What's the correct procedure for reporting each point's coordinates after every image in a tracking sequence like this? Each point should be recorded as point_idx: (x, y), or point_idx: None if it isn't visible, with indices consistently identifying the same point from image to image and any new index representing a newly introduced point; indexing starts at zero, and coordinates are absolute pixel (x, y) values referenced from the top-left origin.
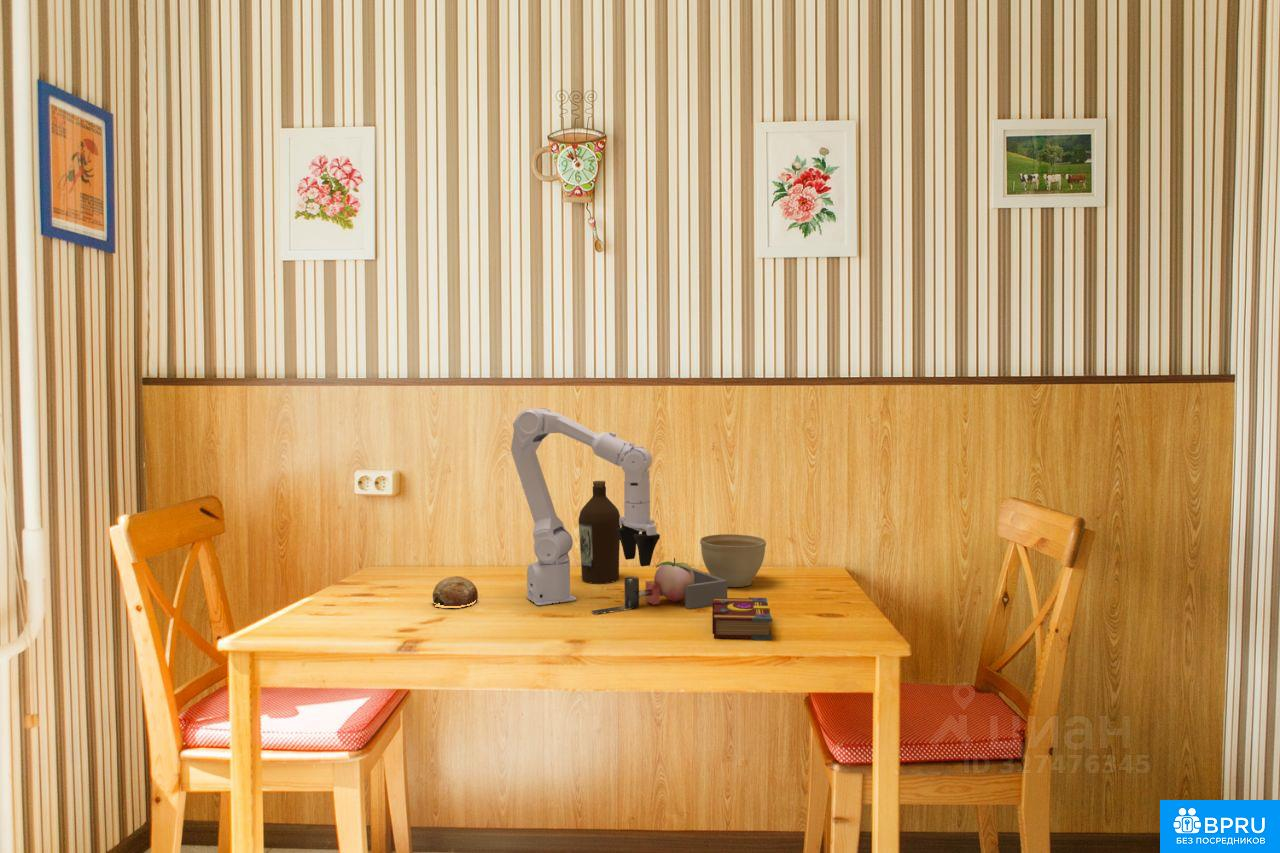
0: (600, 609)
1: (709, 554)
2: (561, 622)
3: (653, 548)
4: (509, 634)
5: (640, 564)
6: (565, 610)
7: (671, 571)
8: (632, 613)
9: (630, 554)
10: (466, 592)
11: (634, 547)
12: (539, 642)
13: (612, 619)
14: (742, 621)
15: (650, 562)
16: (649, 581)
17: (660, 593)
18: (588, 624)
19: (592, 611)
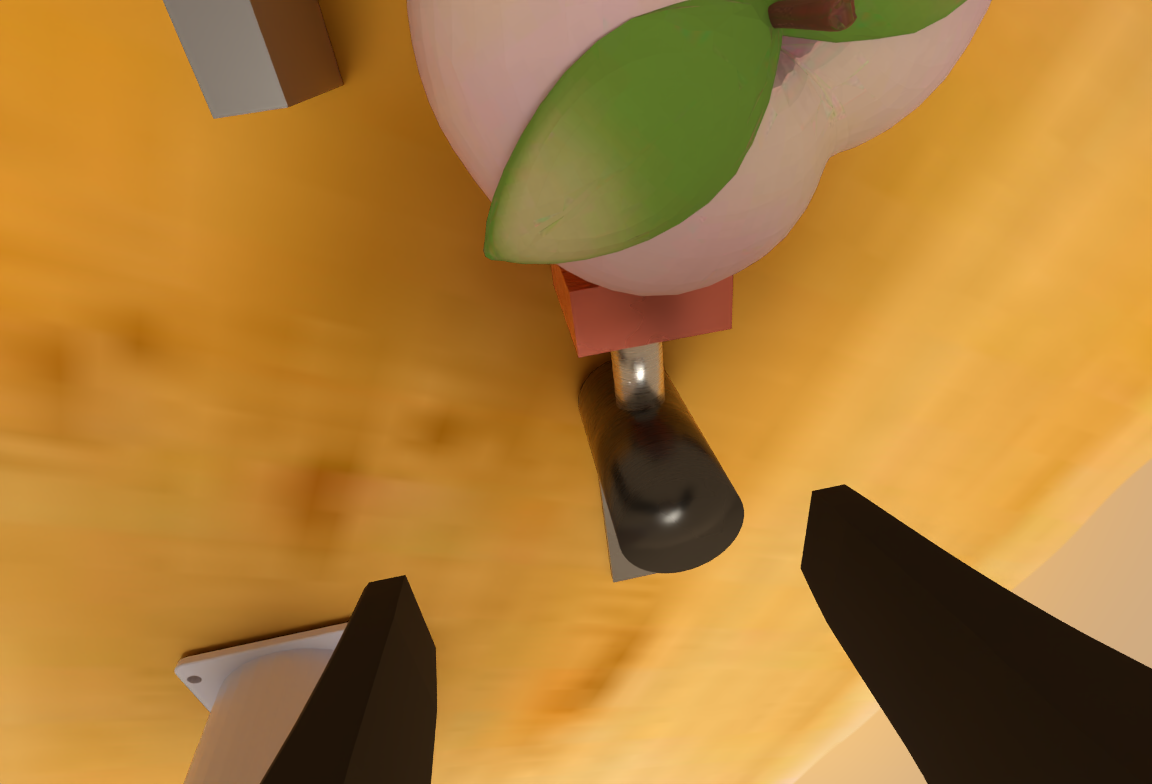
0: (611, 545)
1: None
2: (696, 665)
3: (1115, 664)
4: (734, 764)
5: (818, 584)
6: (534, 653)
7: (844, 141)
8: (731, 412)
9: (415, 671)
10: None
11: (375, 735)
12: (855, 708)
13: (770, 512)
14: None
15: (875, 505)
16: (598, 324)
17: (334, 66)
18: (777, 595)
19: (629, 577)
